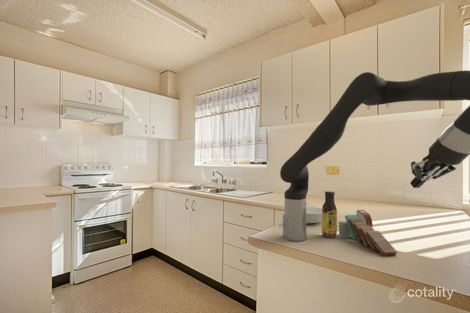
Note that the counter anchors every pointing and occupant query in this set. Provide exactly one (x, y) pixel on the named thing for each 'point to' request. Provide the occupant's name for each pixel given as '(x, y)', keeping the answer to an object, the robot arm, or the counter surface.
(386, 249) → the domino
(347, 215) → the domino
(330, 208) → the sauce bottle
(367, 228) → the domino
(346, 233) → the block
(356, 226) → the domino
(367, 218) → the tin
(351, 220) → the domino
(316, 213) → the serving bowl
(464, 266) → the counter surface
